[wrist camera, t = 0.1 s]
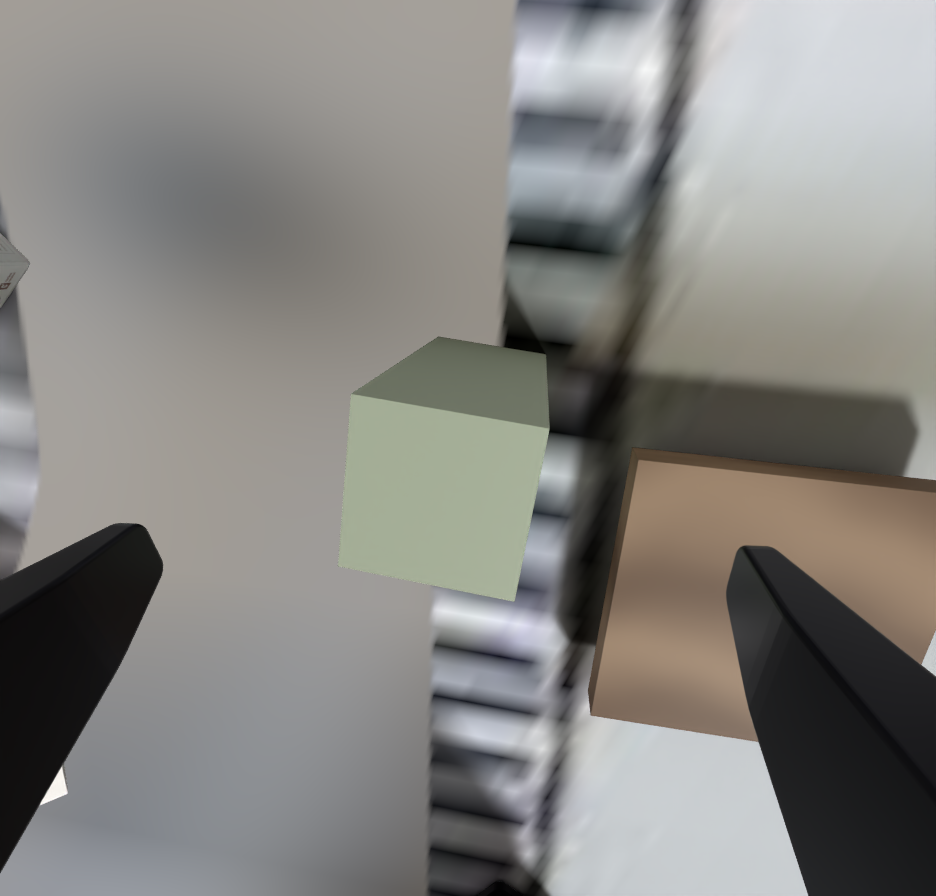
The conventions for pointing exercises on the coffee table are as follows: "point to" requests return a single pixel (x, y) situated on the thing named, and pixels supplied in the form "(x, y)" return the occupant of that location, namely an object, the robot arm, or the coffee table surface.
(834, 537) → the tan square board
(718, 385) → the coffee table surface
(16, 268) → the supplement box
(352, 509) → the sage block
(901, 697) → the robot arm
